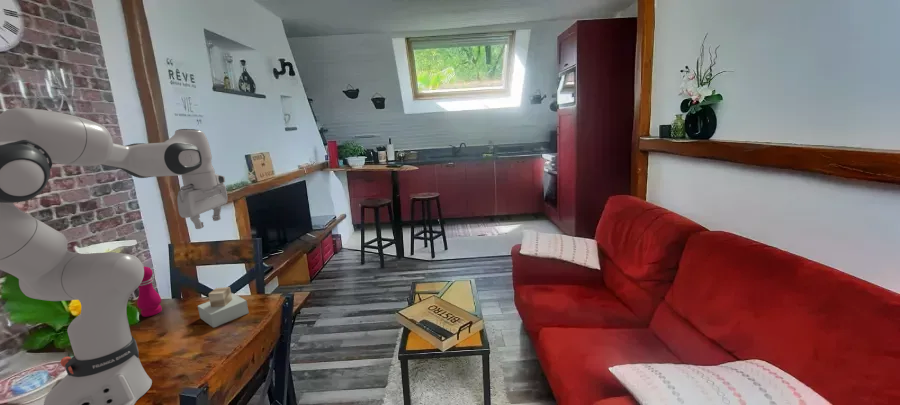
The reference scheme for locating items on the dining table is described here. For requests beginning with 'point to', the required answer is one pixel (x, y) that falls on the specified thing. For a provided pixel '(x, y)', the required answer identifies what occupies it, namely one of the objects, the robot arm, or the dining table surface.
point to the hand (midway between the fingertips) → (208, 224)
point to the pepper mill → (148, 296)
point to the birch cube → (220, 296)
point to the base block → (223, 311)
